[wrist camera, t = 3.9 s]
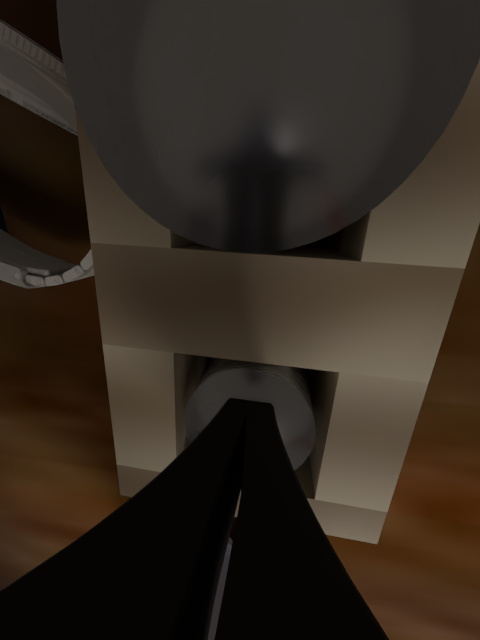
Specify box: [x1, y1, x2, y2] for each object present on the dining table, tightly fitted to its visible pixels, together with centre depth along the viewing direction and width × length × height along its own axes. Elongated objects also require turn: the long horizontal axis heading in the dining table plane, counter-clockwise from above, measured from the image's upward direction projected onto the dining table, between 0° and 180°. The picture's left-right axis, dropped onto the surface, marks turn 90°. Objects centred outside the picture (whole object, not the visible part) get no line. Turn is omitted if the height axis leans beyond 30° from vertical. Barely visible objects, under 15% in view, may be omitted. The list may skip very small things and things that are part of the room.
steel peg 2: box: [185, 357, 316, 470], centre depth 10 cm, size 4×4×5 cm
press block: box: [74, 59, 480, 544], centre depth 9 cm, size 15×9×5 cm, turn 177°
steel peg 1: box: [57, 0, 480, 253], centre depth 5 cm, size 4×4×5 cm
